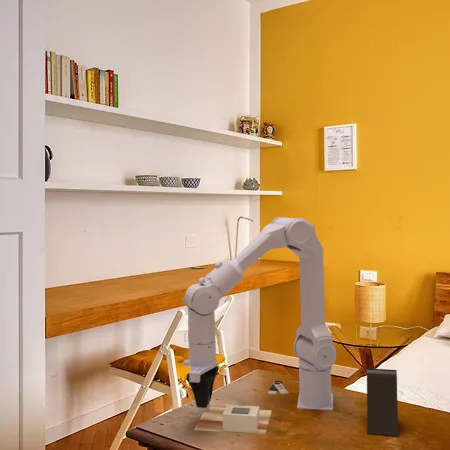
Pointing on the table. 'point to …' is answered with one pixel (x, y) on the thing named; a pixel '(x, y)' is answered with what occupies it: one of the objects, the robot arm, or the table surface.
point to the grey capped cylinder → (205, 408)
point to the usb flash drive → (277, 388)
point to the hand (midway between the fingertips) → (203, 403)
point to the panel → (215, 421)
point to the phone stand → (382, 402)
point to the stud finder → (241, 418)
